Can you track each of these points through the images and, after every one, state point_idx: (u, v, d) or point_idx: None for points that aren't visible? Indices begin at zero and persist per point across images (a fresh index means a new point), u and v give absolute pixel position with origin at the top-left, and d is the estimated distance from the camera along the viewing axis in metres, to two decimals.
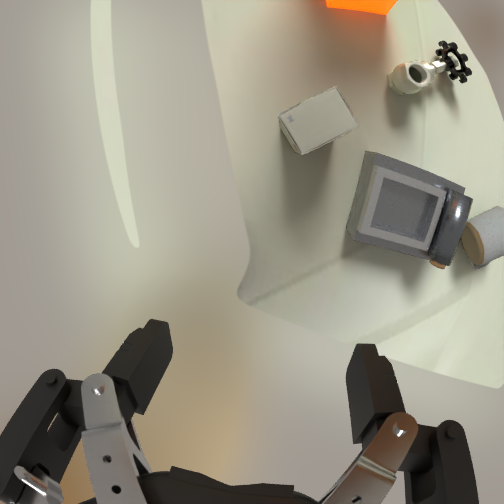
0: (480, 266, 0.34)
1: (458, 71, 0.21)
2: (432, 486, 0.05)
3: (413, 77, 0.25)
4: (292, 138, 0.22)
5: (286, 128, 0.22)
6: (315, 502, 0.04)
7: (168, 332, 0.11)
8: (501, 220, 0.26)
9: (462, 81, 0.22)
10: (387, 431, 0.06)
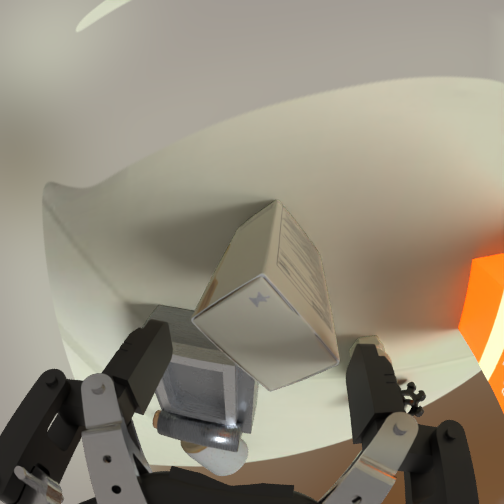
0: None
1: None
2: (432, 486, 0.05)
3: None
4: (217, 303, 0.11)
5: (235, 291, 0.11)
6: (315, 502, 0.04)
7: (168, 332, 0.11)
8: (232, 461, 0.30)
9: None
10: (387, 431, 0.06)
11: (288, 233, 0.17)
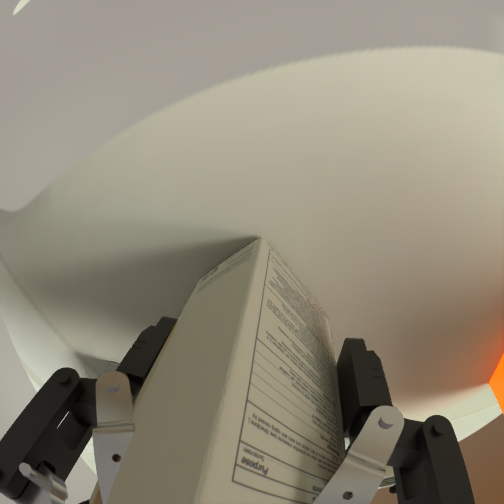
0: None
1: None
2: (423, 481, 0.05)
3: None
4: None
5: None
6: None
7: None
8: None
9: None
10: (373, 425, 0.06)
11: (276, 322, 0.09)
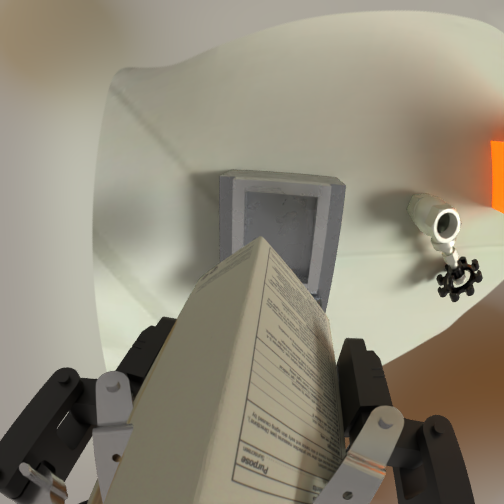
0: None
1: (452, 284, 0.25)
2: (423, 481, 0.05)
3: None
4: None
5: None
6: None
7: None
8: None
9: (440, 290, 0.26)
10: (372, 425, 0.06)
11: (276, 320, 0.09)
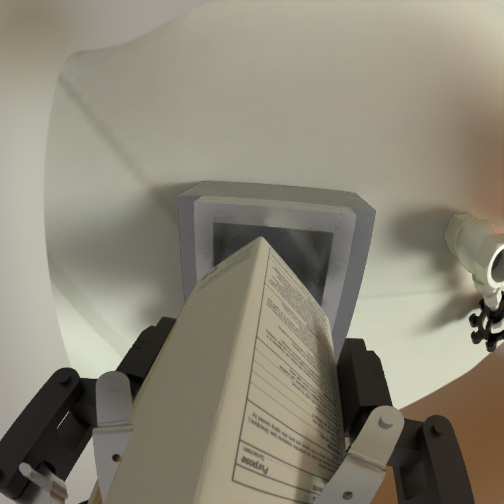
0: None
1: (490, 330, 0.16)
2: (423, 481, 0.05)
3: None
4: None
5: None
6: None
7: None
8: None
9: (474, 337, 0.18)
10: (373, 425, 0.06)
11: (276, 321, 0.09)
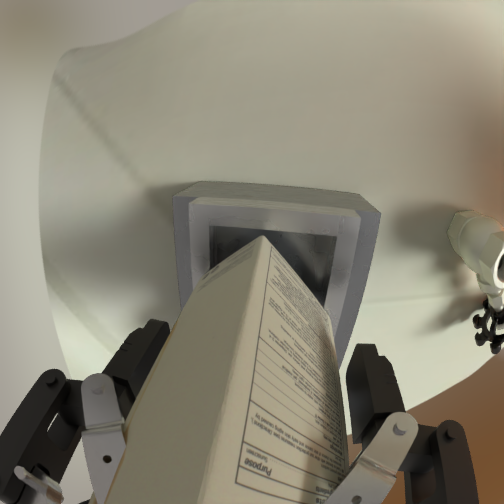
0: None
1: (494, 332, 0.15)
2: (432, 486, 0.05)
3: None
4: None
5: None
6: None
7: (168, 332, 0.11)
8: None
9: (478, 338, 0.17)
10: (387, 431, 0.06)
11: (278, 320, 0.08)
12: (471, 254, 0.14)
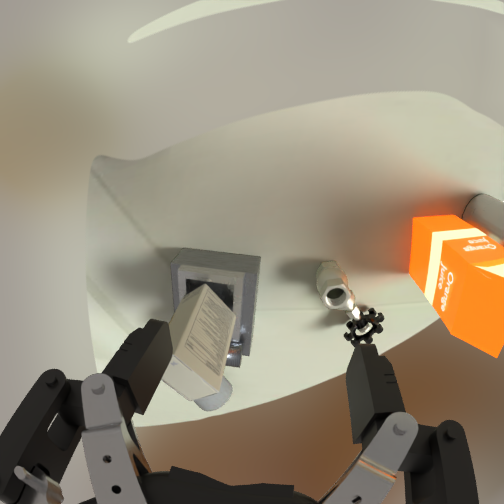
0: None
1: (353, 333, 0.36)
2: (432, 486, 0.05)
3: (335, 288, 0.35)
4: None
5: None
6: (315, 502, 0.04)
7: (168, 332, 0.11)
8: (219, 395, 0.42)
9: (345, 336, 0.37)
10: (387, 431, 0.06)
11: (203, 315, 0.28)
12: (318, 289, 0.34)
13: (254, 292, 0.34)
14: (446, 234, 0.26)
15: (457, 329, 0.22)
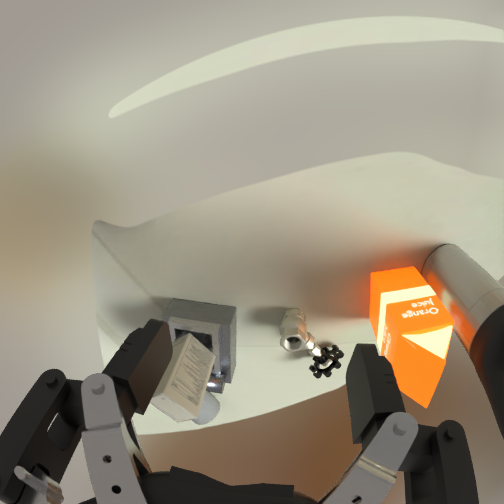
0: None
1: (316, 367, 0.42)
2: (432, 486, 0.05)
3: None
4: None
5: (156, 395, 0.29)
6: (315, 502, 0.04)
7: (168, 332, 0.11)
8: (208, 412, 0.49)
9: (310, 368, 0.44)
10: (387, 431, 0.06)
11: (187, 360, 0.35)
12: None
13: (229, 338, 0.41)
14: (394, 296, 0.32)
15: None
